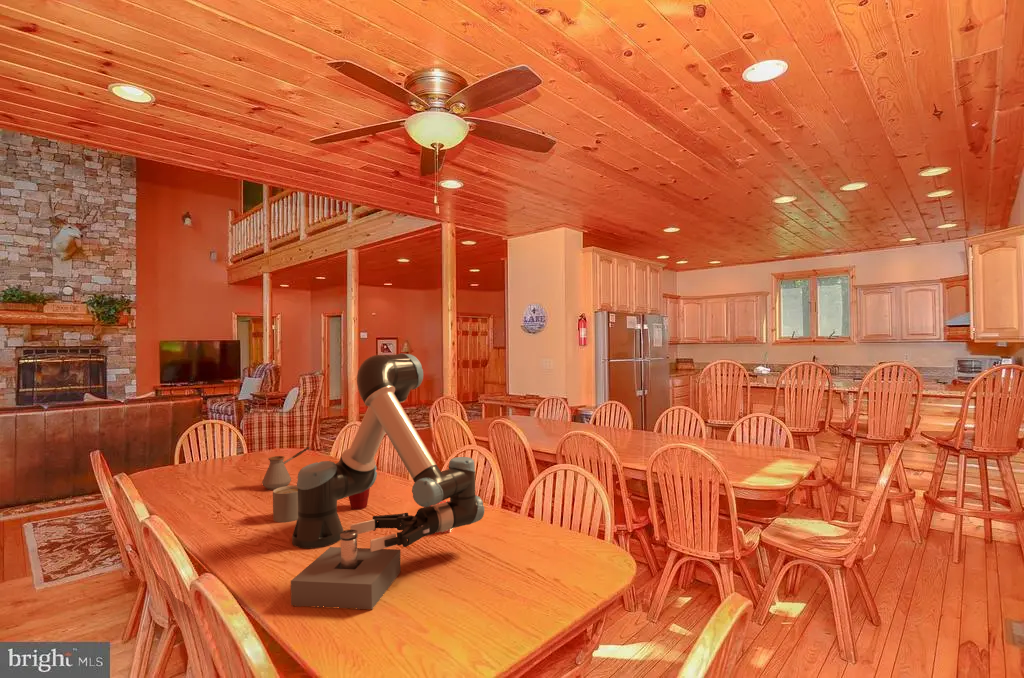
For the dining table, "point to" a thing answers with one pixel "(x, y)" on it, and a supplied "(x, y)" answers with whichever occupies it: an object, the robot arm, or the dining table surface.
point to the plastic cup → (359, 500)
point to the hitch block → (346, 579)
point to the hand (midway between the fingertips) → (360, 537)
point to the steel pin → (349, 549)
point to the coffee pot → (278, 472)
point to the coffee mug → (285, 504)
